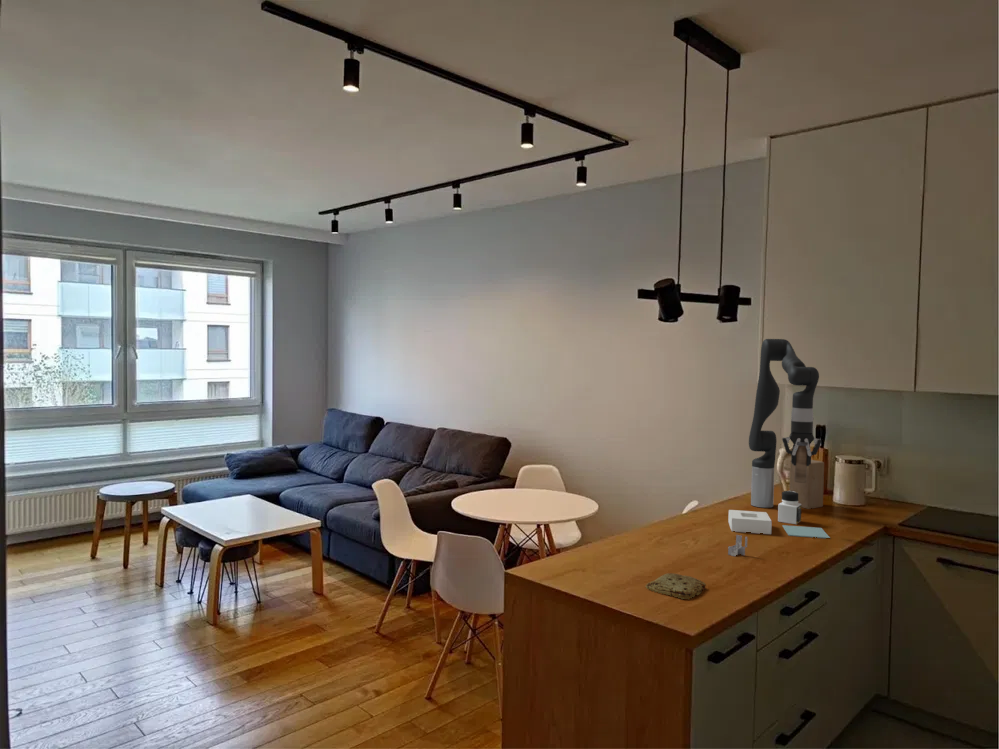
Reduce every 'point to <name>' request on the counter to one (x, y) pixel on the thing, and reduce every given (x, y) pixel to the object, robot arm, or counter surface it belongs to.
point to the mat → (805, 531)
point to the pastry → (677, 585)
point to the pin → (801, 462)
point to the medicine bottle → (789, 508)
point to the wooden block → (809, 485)
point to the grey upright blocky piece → (737, 547)
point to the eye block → (749, 521)
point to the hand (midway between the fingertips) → (800, 465)
